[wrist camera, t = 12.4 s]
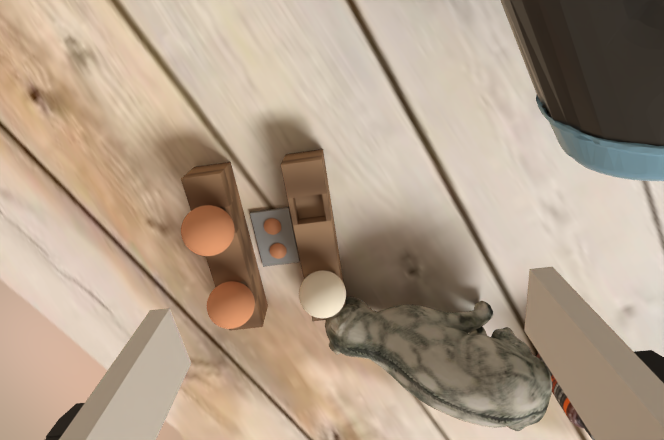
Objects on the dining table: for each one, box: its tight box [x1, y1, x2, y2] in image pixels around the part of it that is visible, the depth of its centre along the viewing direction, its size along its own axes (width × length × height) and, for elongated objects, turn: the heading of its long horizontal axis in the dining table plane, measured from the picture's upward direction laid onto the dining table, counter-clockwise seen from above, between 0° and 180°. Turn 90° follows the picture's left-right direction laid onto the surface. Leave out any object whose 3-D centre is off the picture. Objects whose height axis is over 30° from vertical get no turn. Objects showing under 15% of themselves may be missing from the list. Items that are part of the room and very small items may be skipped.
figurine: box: [325, 297, 552, 431], centre depth 42 cm, size 10×19×20 cm
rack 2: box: [281, 149, 346, 321], centre depth 43 cm, size 19×4×4 cm, turn 8°
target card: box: [250, 207, 300, 267], centre depth 44 cm, size 7×4×1 cm, turn 8°
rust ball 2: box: [207, 281, 255, 329], centre depth 41 cm, size 5×5×5 cm
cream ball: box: [299, 270, 346, 318], centre depth 41 cm, size 5×5×5 cm
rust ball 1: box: [181, 205, 235, 256], centre depth 38 cm, size 5×5×5 cm
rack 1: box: [181, 162, 268, 330], centre depth 43 cm, size 19×4×4 cm, turn 8°
